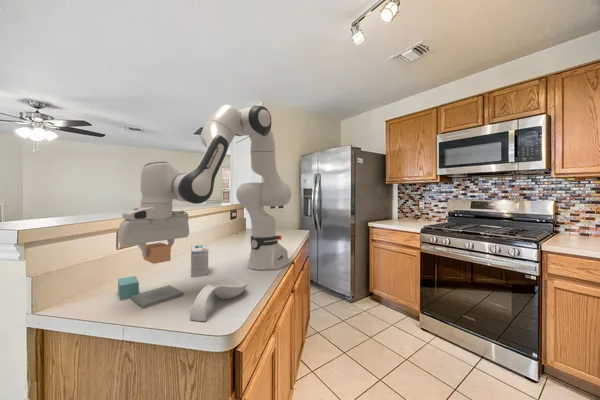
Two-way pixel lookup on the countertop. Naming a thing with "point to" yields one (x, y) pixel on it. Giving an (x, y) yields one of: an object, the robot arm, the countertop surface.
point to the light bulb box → (199, 260)
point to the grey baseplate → (156, 296)
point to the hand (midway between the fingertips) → (157, 254)
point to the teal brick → (128, 287)
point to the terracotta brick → (158, 253)
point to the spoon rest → (219, 288)
